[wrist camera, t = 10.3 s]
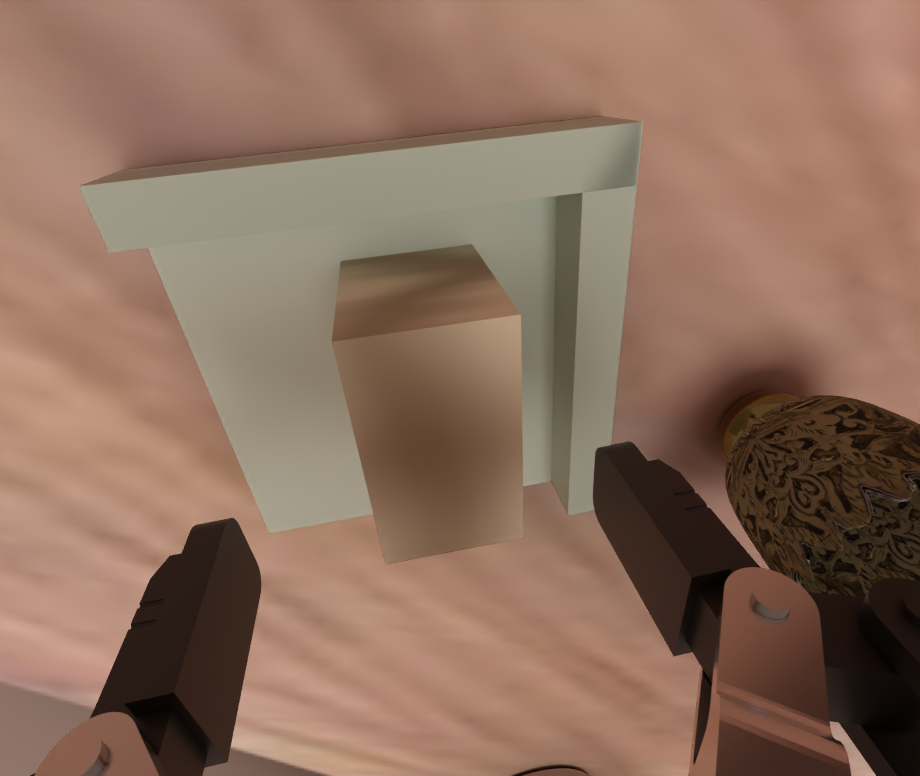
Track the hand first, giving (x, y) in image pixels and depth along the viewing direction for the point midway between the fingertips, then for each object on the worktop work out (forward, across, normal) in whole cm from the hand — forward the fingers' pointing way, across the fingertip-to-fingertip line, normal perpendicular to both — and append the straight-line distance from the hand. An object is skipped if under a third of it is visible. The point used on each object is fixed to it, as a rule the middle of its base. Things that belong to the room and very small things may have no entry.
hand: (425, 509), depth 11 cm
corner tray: (+7, -1, 0) cm, 7 cm away
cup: (+8, -15, +6) cm, 17 cm away
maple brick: (+7, -1, 0) cm, 7 cm away
